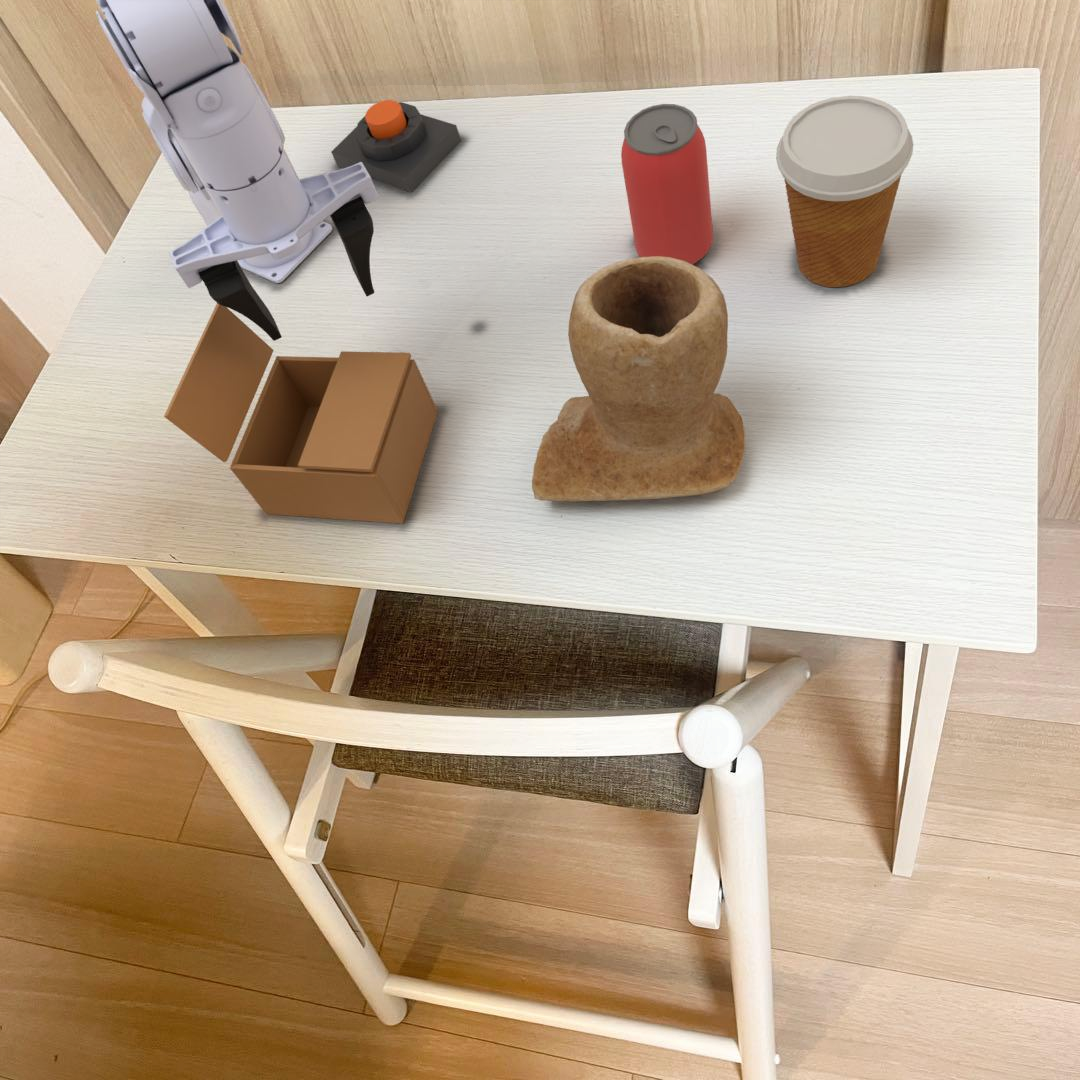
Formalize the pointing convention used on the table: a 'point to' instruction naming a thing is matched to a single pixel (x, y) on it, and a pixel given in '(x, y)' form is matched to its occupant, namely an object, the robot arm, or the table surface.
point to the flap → (219, 383)
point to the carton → (338, 437)
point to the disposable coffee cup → (842, 184)
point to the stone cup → (644, 390)
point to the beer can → (667, 183)
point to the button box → (400, 149)
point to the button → (385, 119)
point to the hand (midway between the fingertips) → (320, 309)
